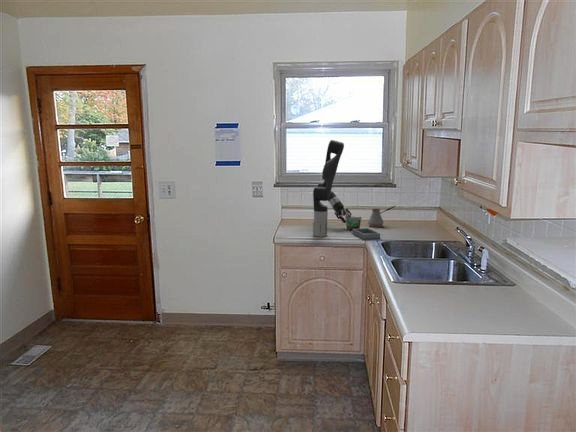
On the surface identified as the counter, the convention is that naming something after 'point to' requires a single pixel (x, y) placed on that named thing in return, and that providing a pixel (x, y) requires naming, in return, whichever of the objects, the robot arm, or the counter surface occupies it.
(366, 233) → the tray
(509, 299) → the counter surface
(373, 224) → the coffee pot
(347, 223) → the food container
